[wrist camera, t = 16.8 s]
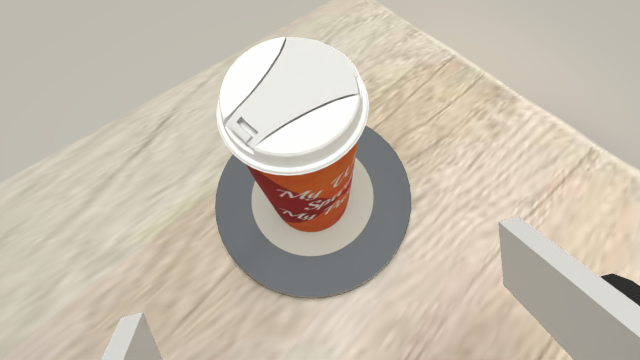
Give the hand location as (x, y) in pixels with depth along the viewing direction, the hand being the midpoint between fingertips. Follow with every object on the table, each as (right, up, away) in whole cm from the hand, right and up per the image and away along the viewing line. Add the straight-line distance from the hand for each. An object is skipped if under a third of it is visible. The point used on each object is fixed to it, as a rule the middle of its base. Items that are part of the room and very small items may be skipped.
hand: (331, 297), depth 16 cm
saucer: (-1, +2, +22) cm, 22 cm away
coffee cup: (-1, +3, +21) cm, 21 cm away
